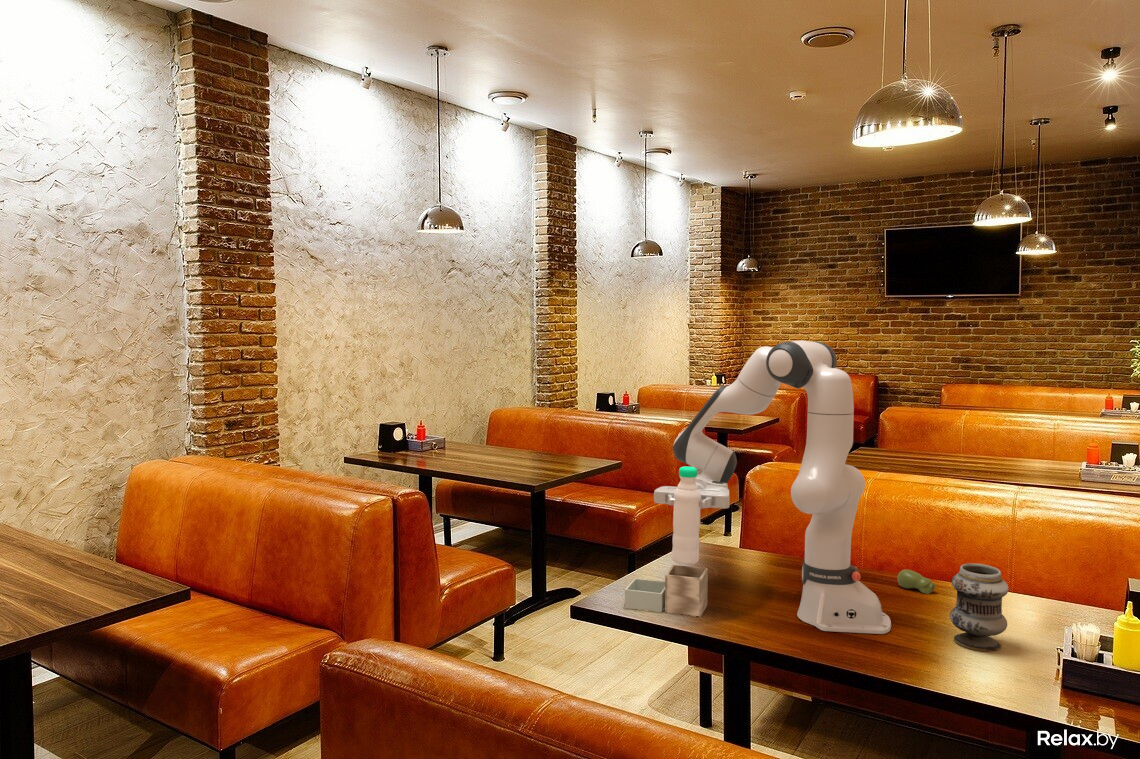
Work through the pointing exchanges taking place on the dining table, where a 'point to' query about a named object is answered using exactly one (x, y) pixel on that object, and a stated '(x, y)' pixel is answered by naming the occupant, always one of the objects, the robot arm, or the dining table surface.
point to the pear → (915, 581)
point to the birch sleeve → (686, 590)
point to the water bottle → (686, 518)
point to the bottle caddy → (645, 595)
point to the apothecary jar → (979, 606)
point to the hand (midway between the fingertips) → (686, 503)
